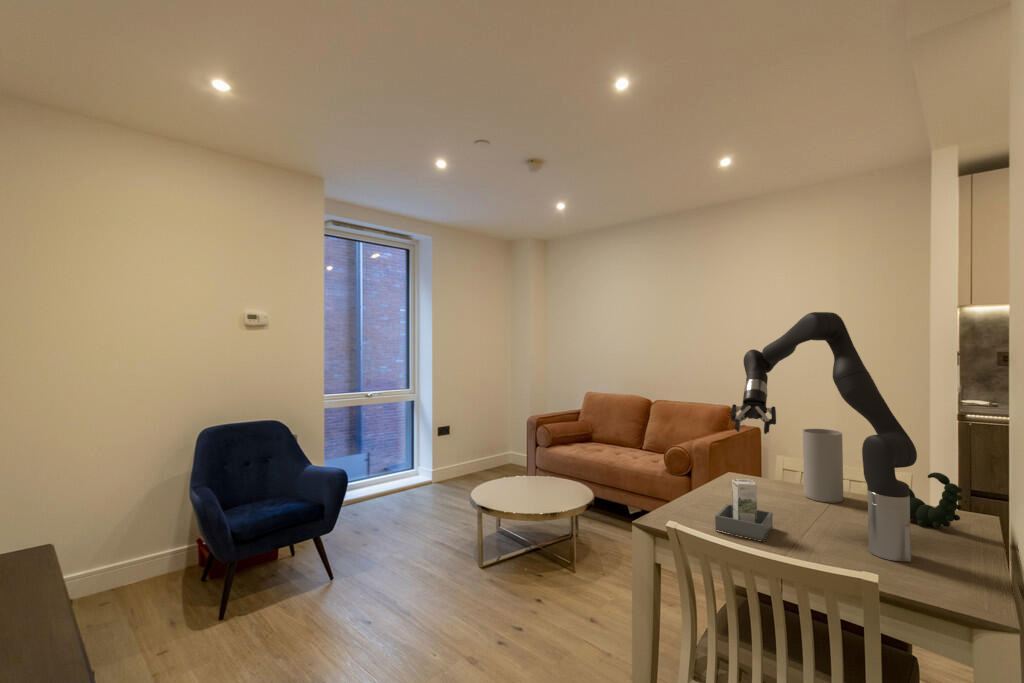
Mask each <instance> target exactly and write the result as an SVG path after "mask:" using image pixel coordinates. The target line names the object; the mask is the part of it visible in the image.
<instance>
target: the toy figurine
mask: <svg viewBox="0 0 1024 683" xmlns="http://www.w3.org/2000/svg"><path fill="white" fill-rule="evenodd" d="M927 478H928V479H930V478H933V479H935V480H937V481H938V482H940V483H941V484H942V485H944V487H943V492H942V493H941V498H940V499H939V501H938V505H936V507H934V506H933V505H929V504H926V503H925V502H924V501H923V500H922V499H920V498H918V497H916V495H915V493H914V491H913V490H912V489H911V488H910V487H909V489H910V521H911V520H912V519H914V520H917V526H919V527H921V526H922V527H926V525H927V526H933V527H934V528H935V529H941V528H942V526H943V527H946V528H947V527H948V528H949V527H950V526H951V522H954V521H956V522H957V521H960V520H961V516H960V515H958V514H956V511H960V510H962V509H963V507H962V505H961V504H958V502H959V501H962V500H963V496H962V495H959V494H960V493H962V492H963V489H962V488H961V487H959V486H958V485H957V484H955V483H953V482H951V481H950V478H949V477H948V476H946V474H943V473H941V472H930V473H929V474H928V475H927Z"/></svg>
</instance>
